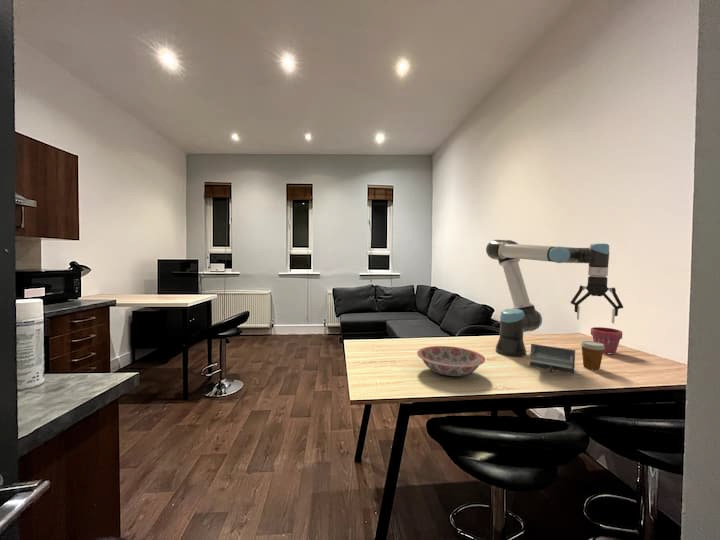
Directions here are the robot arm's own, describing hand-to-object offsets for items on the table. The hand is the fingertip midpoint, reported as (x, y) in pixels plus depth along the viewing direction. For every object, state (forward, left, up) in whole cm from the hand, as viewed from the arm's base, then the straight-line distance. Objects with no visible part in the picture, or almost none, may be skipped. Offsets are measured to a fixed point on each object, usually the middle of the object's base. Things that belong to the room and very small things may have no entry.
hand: (594, 321), depth 157 cm
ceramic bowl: (-54, -47, -23) cm, 75 cm away
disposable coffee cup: (0, -1, -23) cm, 23 cm away
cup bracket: (-16, -19, -22) cm, 34 cm away
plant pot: (+8, +37, -23) cm, 44 cm away
